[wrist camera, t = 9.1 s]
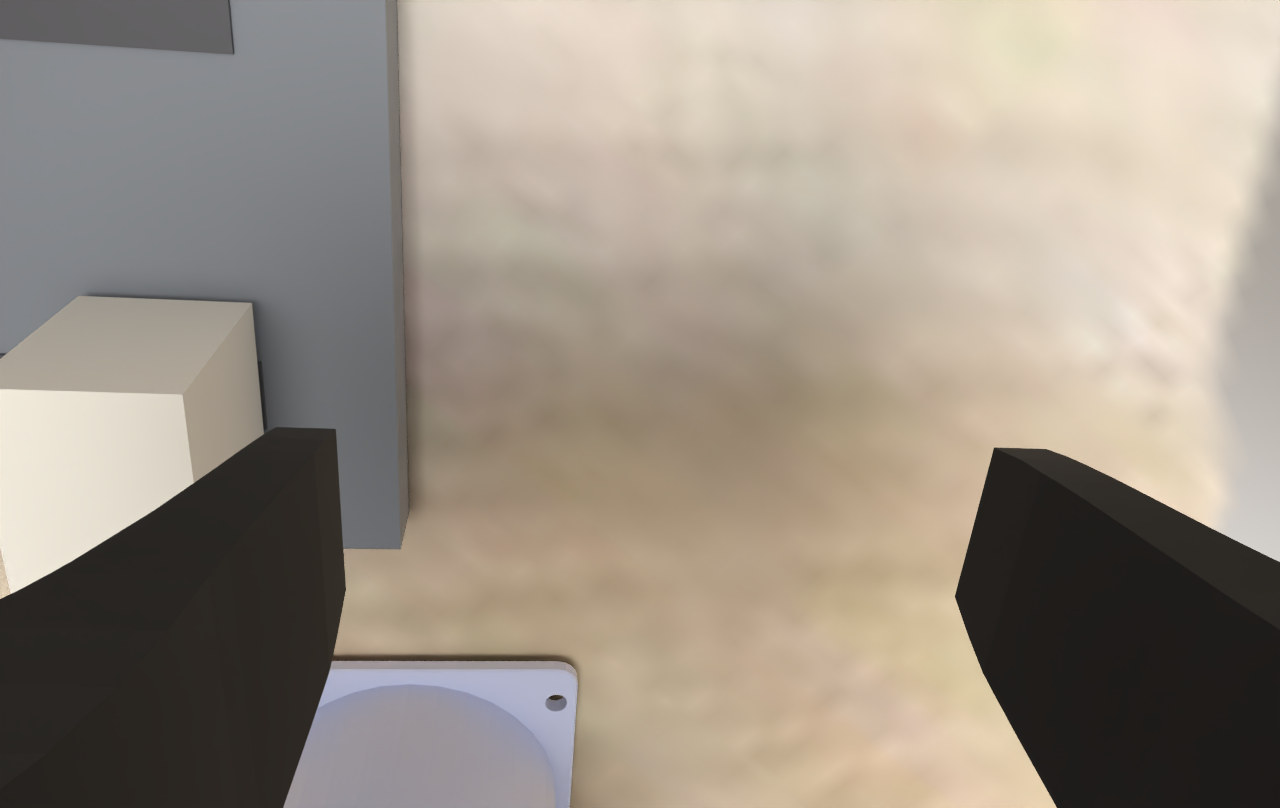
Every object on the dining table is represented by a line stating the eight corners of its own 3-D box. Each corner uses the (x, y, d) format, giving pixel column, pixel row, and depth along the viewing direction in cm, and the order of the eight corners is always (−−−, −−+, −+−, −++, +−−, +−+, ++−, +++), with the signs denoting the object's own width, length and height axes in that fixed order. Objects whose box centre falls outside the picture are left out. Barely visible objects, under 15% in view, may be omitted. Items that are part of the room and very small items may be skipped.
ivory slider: (269, 492, 20) (210, 616, 16) (110, 489, 20) (15, 615, 16) (252, 302, 18) (182, 394, 15) (78, 295, 18) (-36, 387, 14)
